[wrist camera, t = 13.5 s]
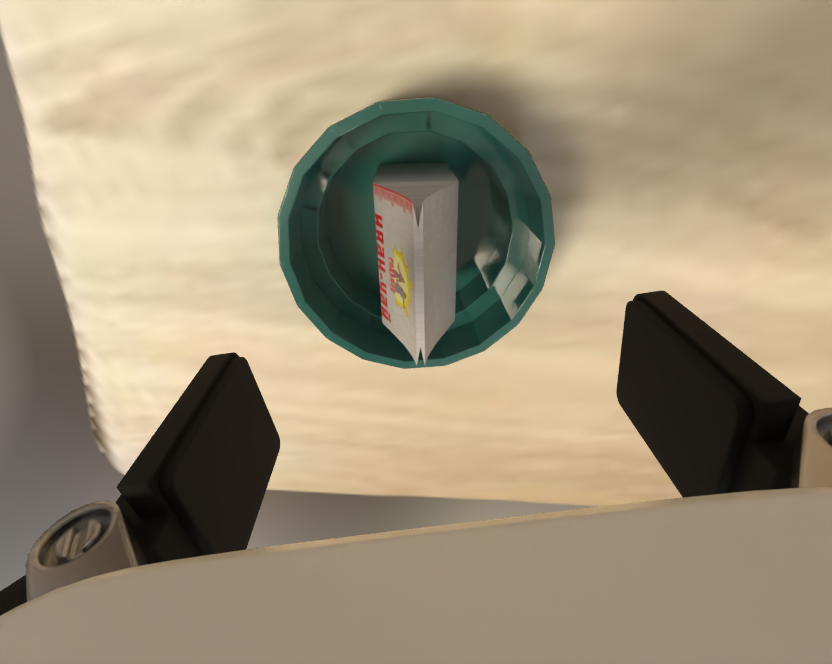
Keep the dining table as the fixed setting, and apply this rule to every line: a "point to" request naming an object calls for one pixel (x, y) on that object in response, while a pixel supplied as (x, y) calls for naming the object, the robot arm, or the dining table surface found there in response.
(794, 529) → the robot arm
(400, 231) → the white juice carton
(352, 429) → the dining table surface
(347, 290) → the teal faceted bowl
